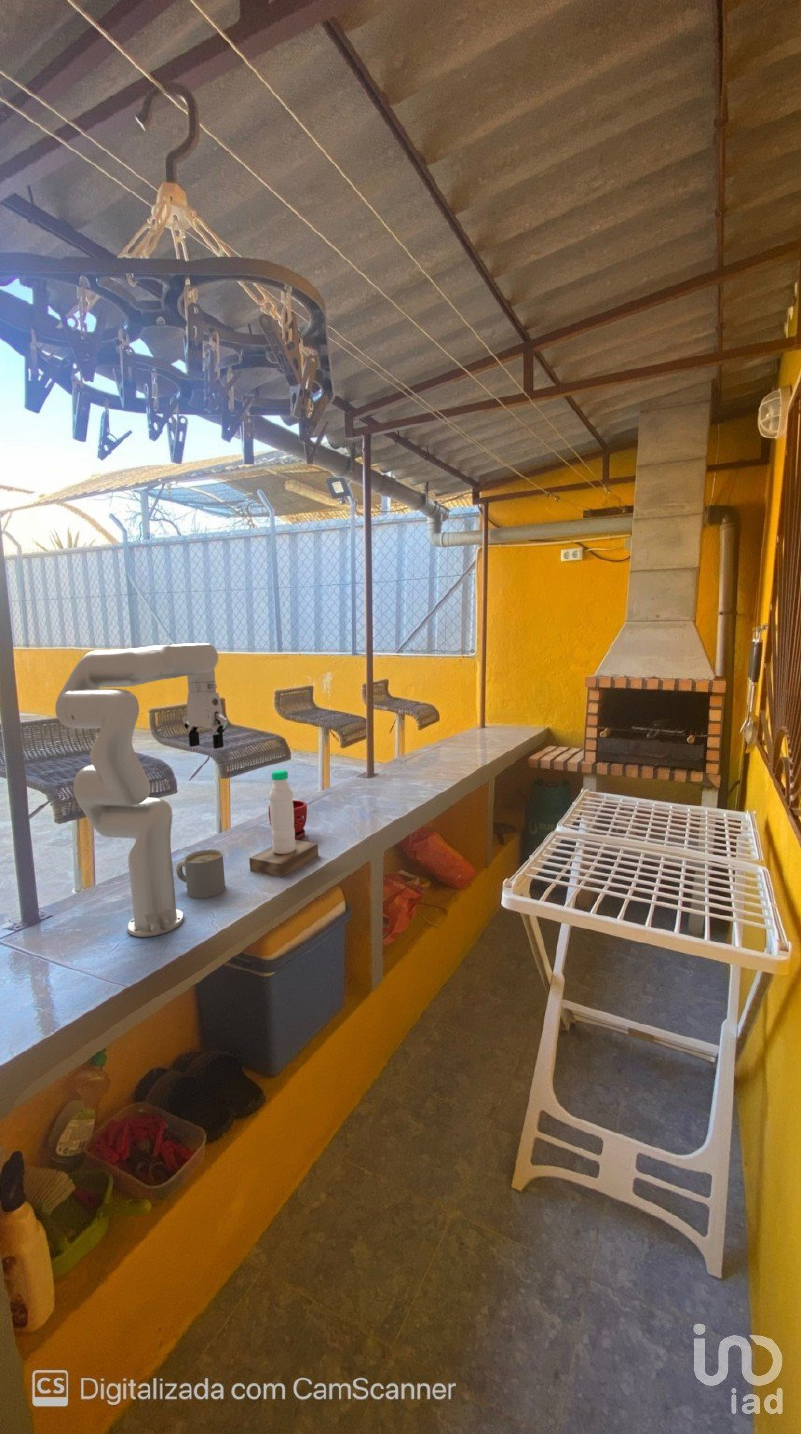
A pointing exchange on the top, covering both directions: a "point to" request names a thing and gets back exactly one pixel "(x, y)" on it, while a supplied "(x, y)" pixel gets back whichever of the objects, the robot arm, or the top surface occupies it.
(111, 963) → the top surface
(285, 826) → the water bottle
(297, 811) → the plant pot
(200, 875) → the coffee mug
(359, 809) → the top surface
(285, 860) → the walnut stand
